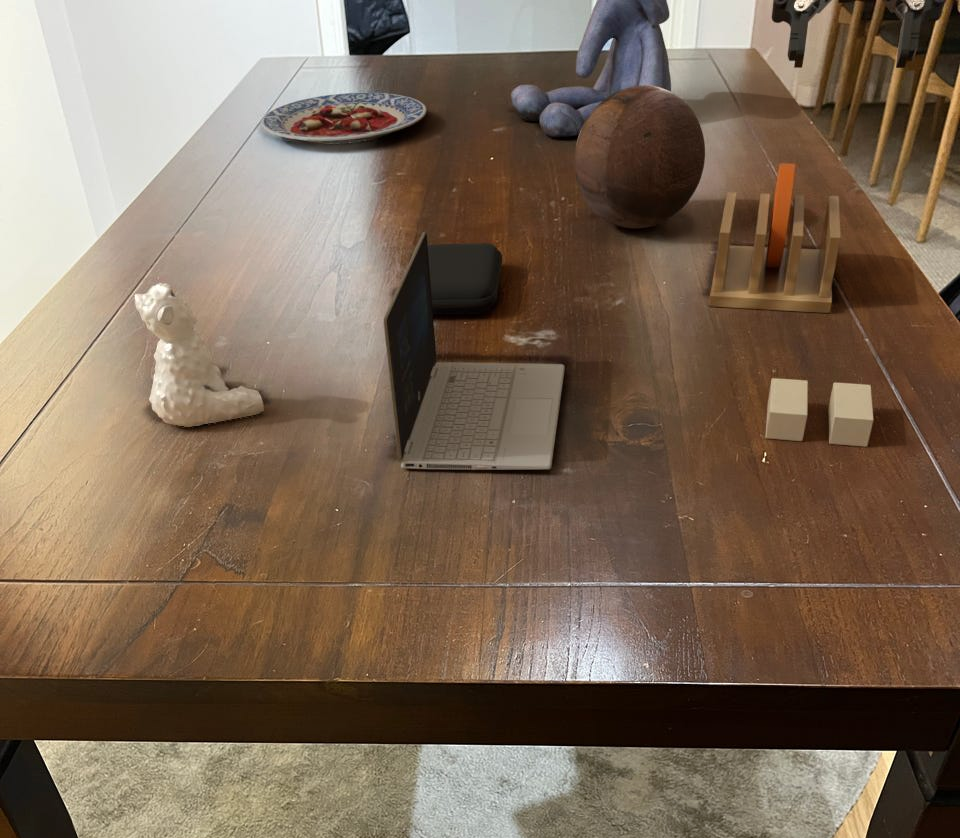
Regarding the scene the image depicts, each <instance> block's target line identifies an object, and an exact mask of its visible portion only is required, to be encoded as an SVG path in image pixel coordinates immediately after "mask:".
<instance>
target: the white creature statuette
mask: <svg viewBox="0 0 960 838" xmlns="http://www.w3.org/2000/svg"><path fill="white" fill-rule="evenodd" d="M134 304H135V305H134V306H135V309H136V310H137V311H138V313H139V315H140V318H141V320H142V322H145V325H146V328H147V329H148V331H149V332H152V333H153V334H154V335H155V337H156V338H158V339H159V341H157V343H156V349H155V352H154V354H153V359H154V361H155V366H154V371H155V373H154V374H153V376H152V378H153V380H152V381H153V382H152V385H151V390H150V395H149V398H148V400H149V402H150V404H151V409H152V411H153V412H155V413H156V414H157V416H158V418H160V419H161V420H162V421H163V422H164V423H165V424H168V425H171V426H172V425H173V426H176V425H178V426H188V427H189V426H195V425H201V424H208V423H210V422H211V423H214V424H216V423H215V422H217V421H221V420H229V419H230V420H229V421H232V420H231V419H234V418H239V417H245V416H251V415H256V414H258V415H260V414H261V413H263V412H264V411H265V408H264V401H263V398H262V395H261V394H260V393H259V391H258V390H257V389H252V388H248V387H245V386H243V385H239V387H237V388H236V387H234V388H231V389H229V387H227V385H226V382H225V381H224V380H223V377H222V372H221V369H220V368H219V367H218V366H217V365H215V364H214V359H213V357H212V353H211V351H210V350H209V348H208V347H206V346H205V344H204V341H203V339H202V338H201V337H200V334H199V333H198V331H197V330H196V329H195V325H196V324H197V323H198V318H197V316H196V315H194V313H193V311H192V310H191V307H190V306H189V305H187V304H188V300H187V298H185V297H183V296H179V295H178V294H177V293H176V292H175V291H174V290H173V286H172V285H170V284H169V283H166V282H165V283H163V282H158V283H157V284H155V285H152V286H151V287H150V288H149V289H148V291H147V292H146V293H135V294H134ZM256 416H257V415H256ZM251 417H252V416H251ZM245 418H246V417H245ZM208 425H209V424H208ZM178 426H177V427H178Z"/></svg>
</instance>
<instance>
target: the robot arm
mask: <svg viewBox="0 0 960 838" xmlns="http://www.w3.org/2000/svg"><path fill="white" fill-rule="evenodd" d="M837 1H838V2H837V3H838V4H848V3H853V2H857V1H858V2H862V3H866V4H868V3H869V4H870V3H876V2H877V0H837ZM881 1H882V2H883V4H884V5H885V6H886V8H887V9H888V10H889V12H890V13H895V15H896V16H897V17H898V19H899V21H900V22H901V26H900V30H899V37H898V44H897V45H898V46H897V47H898V48H897V54H896V63H895V68H896V69H905V68H906V65H907V62H912V61H913V60H914V57H915V56H916V52H917V50H918V47H919V41H920V33H921V25H922V23H924V22H927V21H929V22H933V23H934V22H937V21H939V20H940V19H941V17H942V15H943V11H944V8H945V4H946V3H947V0H881ZM831 2H832V0H772V10H771V21H772V22H773V23H775V24H780V23H782V22H784V23H786V24H788V26H789V27H790V33H789V40H788V47H787V59H788V61H789V62H794V64H793V65H794V66H793V68H795V69H798V68H799V69H802V68H803V65H804V60H805V53H806V44H807V37H808V36H807V35H808V29H809V28H808V27H809V22H810V21H811V20H812V19H813V18H814V17H815V16H816V15H817V14H820V13H822V11H824V10H825V8H826V7H827V6H828V5H829V4H830V3H831Z"/></svg>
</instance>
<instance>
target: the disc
mask: <svg viewBox="0 0 960 838" xmlns="http://www.w3.org/2000/svg"><path fill="white" fill-rule="evenodd" d="M795 174H796V163H784V162H783V163H781V162H780V163H779V166H778V171H777V177H776V183H775V191H774V197H773V198H774V199H773V204H772V211H771V218H770V219H771V220H770V226H769V233H768V241H767V247H768V248H767V256H766V267H769V268H780V267H781V263H782V258H783V252H784V248H785V245H786V241H787V240H786V239H787V235H788V234H787V233H788V226H789V219H790V212H791V205H792V198H793V190H794V183H795Z"/></svg>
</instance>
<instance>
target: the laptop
mask: <svg viewBox="0 0 960 838" xmlns="http://www.w3.org/2000/svg"><path fill="white" fill-rule="evenodd" d="M428 245H429V244H428V234H427V233H426V231H423V232H422V234H421V236H420V238H419V240H418V242H417V244H416V247H415V249H414V251H413V253H412V255H411V258H410V260H409V261H408V263H407V266H406V269H405V271H404V272H403V275H402V277H401V279H400V281H399V283H398V286H397V287H396V290H395V292H394V294H393V296H392V299H391V300H390V303H389V305H388V308H387V310H386V311H385V314H384V316H383V331H384V340H385V349H386V358H387V367H388V377H389V384H390V393H391V394H390V395H391V403H392V413H393V422H394V423H393V424H394V431H395V440H396V449H397V459H398V461H399V462H401V464H400V468H401V469H411V470H413V469H416V470H464V471H465V470H469V471H470V470H472V471H475V470H478V471H479V470H482V471H484V470H489V471H490V470H491V471H492V470H494V471H495V470H497V471H499V470H501V471H502V470H503V471H504V470H505V471H506V470H507V471H508V470H510V471H511V470H516V471H517V470H518V471H519V470H550V469H552V464H553V457H554V448H555V441H556V434H557V428H558V427H557V426H558V419H559V412H560V407H561V406H560V405H561V397H562V392H563V385H564V377H565V369H566V366H565V365H564V364H563V363H521V362H520V363H517V362H514V363H512V362H461V361H460V362H459V361H458V362H457V361H456V362H454V361H453V362H452V361H449V362H448V361H438V362H437V349H436V337H435V336H436V335H435V322H434V321H435V320H434V315H433V308H432V295H431V283H430V270H429V257H428Z"/></svg>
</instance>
